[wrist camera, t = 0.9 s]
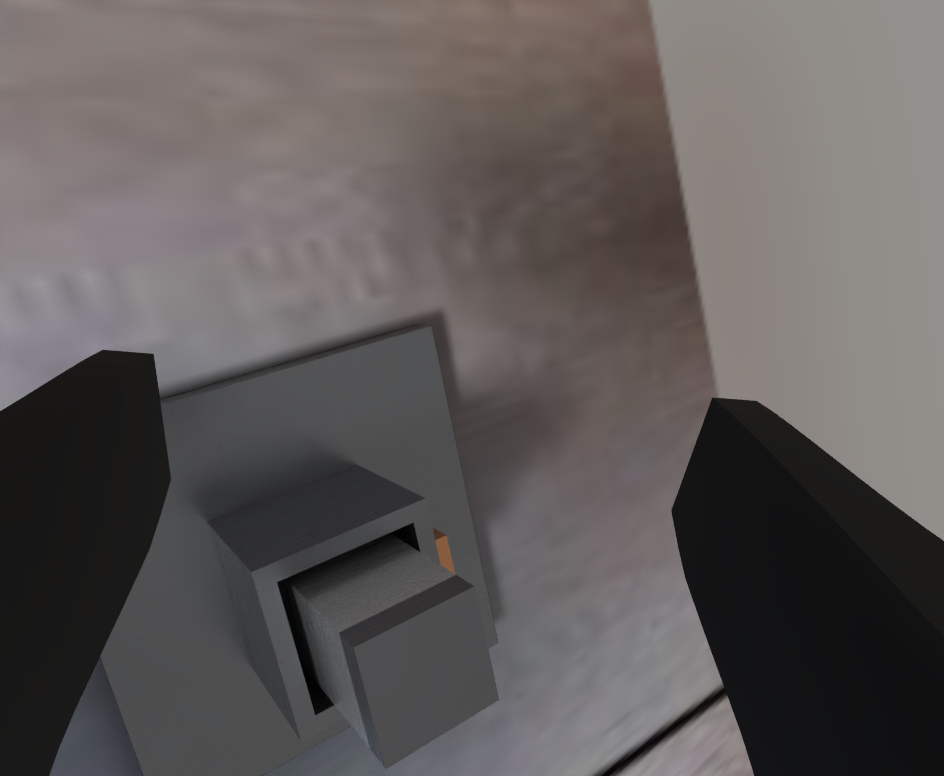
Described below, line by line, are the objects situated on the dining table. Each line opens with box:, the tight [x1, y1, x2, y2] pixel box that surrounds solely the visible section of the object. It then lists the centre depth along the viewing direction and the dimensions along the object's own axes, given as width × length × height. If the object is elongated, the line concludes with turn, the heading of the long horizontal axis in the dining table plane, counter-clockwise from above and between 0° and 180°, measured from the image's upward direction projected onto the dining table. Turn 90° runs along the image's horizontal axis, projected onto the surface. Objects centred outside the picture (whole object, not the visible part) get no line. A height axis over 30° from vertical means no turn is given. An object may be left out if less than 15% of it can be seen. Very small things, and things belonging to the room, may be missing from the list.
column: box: [277, 533, 499, 768], centre depth 20 cm, size 3×3×8 cm
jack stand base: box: [100, 325, 498, 776], centre depth 22 cm, size 12×12×6 cm
